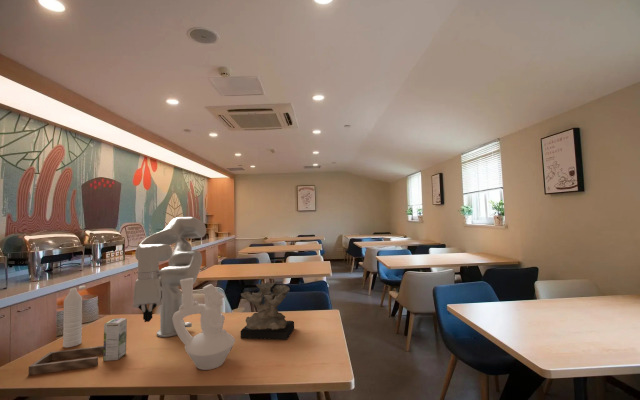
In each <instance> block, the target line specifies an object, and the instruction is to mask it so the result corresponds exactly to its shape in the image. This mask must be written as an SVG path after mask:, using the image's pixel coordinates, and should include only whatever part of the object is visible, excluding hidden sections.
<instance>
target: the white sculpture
mask: <svg viewBox="0 0 640 400" xmlns="http://www.w3.org/2000/svg"><path fill="white" fill-rule="evenodd" d="M180 284H181V286H180V288H181V293H182V305H181V306H180V307H179V310H178V311H177V312H175V313H174V314H173V317H172V320H173V324H174V328H175V330H176V332H177V334H178V335H177V336H178V338H179V339H180V341H181V342H182V343H183V344H184V350H185V352H186V354H187V355H188V356H189V358H190V359H191V361H193V363H194V366H195V367H196V368H197V369H198V370H202V371H209V370H214V369H217V368H219V367H221V366H222V365H223V364H224V363H225V361H226V359H227V357H228V355H229V354H230V352H231V350H232V348H233V346H234V345H235V342H236V338H235V337H234V336H233V335H232V334H231V333H229V332H227V330H226V328H225V329H224V323H225V319H226V318H225V315H224V314H223V313H222V312H221V308H220V307H221V306H222V305H223V299H224V298H225V295H223V294H221V293H220V292H219V290H217V289H216V287H215V285H213V284H212V283H209V284H207V285H205V286H203V287H202V291H203V295H204V296H203V298H204V303H199V302H198V301H197V300H195V299H194V292H193V291H194V289H193V288H194V284H193V278H187V279H182V280H180ZM194 300H195V301H194ZM197 314H200V319H199V320H200V328H201V331H202V332H199V333H197V334H195V335H194V336H193V335H191V333H190V332H189V331H188V329H187V327H185V325H184V323H183V320H184V318H186V317H189V316H192V315H197Z"/></svg>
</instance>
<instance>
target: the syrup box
mask: <svg viewBox="0 0 640 400" xmlns="http://www.w3.org/2000/svg"><path fill="white" fill-rule="evenodd" d="M127 325H128V318H122V317H120V318H119V317H118V318H112V319H111V320H109V321H107V322H105V323H104V325H103V346H104V350H103V354H102V355H103V359H102V360H103V361H104V362H106V361H108V362H109V361H117V360H120V359H121V358H122V357H123V356H125V355H127V336H128V335H127V330H128V328H127V327H128V326H127Z"/></svg>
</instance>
